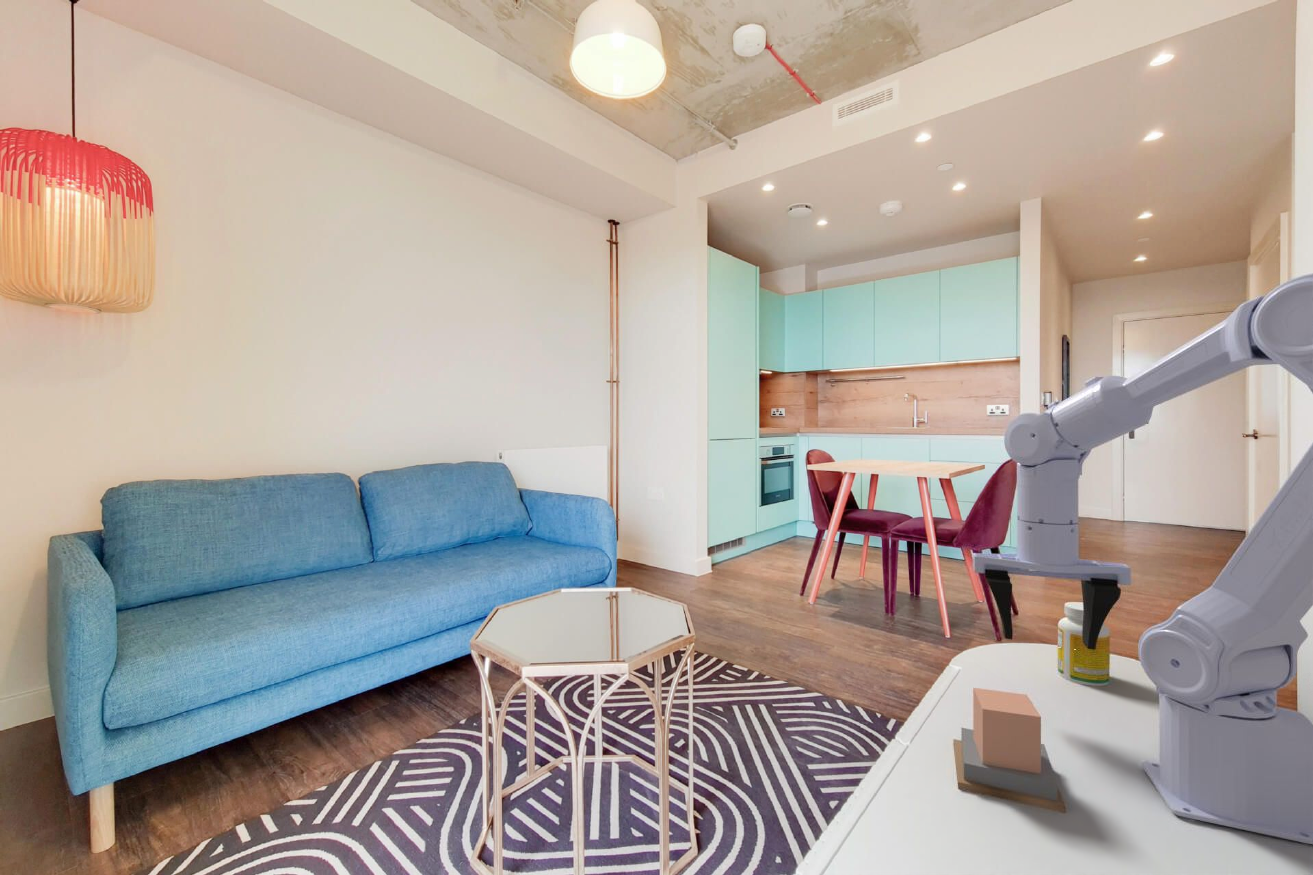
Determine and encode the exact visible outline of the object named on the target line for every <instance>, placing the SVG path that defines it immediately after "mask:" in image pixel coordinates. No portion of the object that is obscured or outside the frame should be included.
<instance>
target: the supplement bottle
mask: <svg viewBox="0 0 1313 875" xmlns="http://www.w3.org/2000/svg"><path fill="white" fill-rule="evenodd" d="M1063 611H1064V612H1063V613H1064V615H1065V617H1063V618H1061V619H1060V620H1059V621H1058V622H1057V674H1058V675H1059V676H1060V677H1061V678H1062V679H1065V680H1067V681H1068V682H1072V683H1075V684H1078V685H1083V686H1084V685H1085V686H1094V687H1100V686H1101V687H1102V686H1106V685H1108V684H1109V683H1110V672H1111V671H1110V669H1111V668H1110V667H1111V666H1110V663H1111V662H1110V660H1111V656H1110V655H1111V653H1110V652H1111V648H1110V647H1111V643H1110V642H1111V640H1110V638H1111V635H1110V634H1111V633H1110V629H1109V628H1108V626H1106V624H1105V623H1103V625H1102V627H1101V630H1100V633H1099V636H1098V639H1097V643H1096V649H1095V650H1092V649H1087V647H1086V646H1085V645H1084V644H1083V637H1082V629H1083V612H1084V610H1083V601H1082V602H1081V601H1068V602H1064V610H1063ZM1058 647H1061V648H1058ZM1074 649H1076V650H1074Z"/></svg>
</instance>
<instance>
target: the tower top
mask: <svg viewBox="0 0 1313 875" xmlns="http://www.w3.org/2000/svg"><path fill="white" fill-rule="evenodd" d="M960 728H961V729H960V730H961V732H960V733H961V734H960V736H961V738H960V739H961V743H962V758H963V773H964V780H968V781H972V782H977V783H981V784H985V785H989V786H993V787H998V788H1002V789H1006V790H1010V791H1014V792H1019V793H1023V794H1027V795H1031V796H1035V797H1040V798H1044V799H1048V800H1052V801H1056V802H1057V786H1058V782H1057V779H1056V776H1055V772H1054V770H1053V767H1052V763H1051V761H1050V757H1049V754H1048V752H1047V749H1046V746H1045V744H1044V743H1041V774H1039V773H1033V772H1027V771H1021V770H1015V769H1009V768H1003V767H997V766H991V765H985V764H982V761H981V758H980V755H979V753H978V750H977V747H976V744H975V742H974V739H973V729H970V728H966V727H965V728H964V727H960Z"/></svg>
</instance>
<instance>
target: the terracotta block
mask: <svg viewBox="0 0 1313 875" xmlns="http://www.w3.org/2000/svg"><path fill="white" fill-rule="evenodd" d="M972 692H973V695H972V696H973V697H972V699H973V700H972V701H973V703H972V707H973V708H972V709H973V711H972V712H973V714H972V715H973V716H972V718H973V720H972V721H973V726H972V728H973V729H972V730H973V739H974V742H975V744H976V747H977V750H978V753H979V755H980V758H981V761H982V764H985V765H991V766H997V767H1003V768H1009V769H1015V770H1021V771H1027V772H1033V773H1039V774H1041V744H1042V717H1041V715H1040V713H1039V712H1038V709H1036V707H1035V706H1034V703H1032V701H1031V699H1030V697H1029V696H1028V694H1024V693H1017V692H1010V691H1001V690H994V689H987V688H979V687H978V688H977V687H973V690H972Z"/></svg>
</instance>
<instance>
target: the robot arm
mask: <svg viewBox="0 0 1313 875" xmlns="http://www.w3.org/2000/svg"><path fill="white" fill-rule="evenodd" d="M1263 365H1264V366H1265V365H1266V366H1267V365H1279V366H1280V367H1282V368H1283V369H1284V370H1286V371H1287V372H1288V373H1290V374H1291V375H1292V376H1294V377H1295V378H1297V379H1298V380H1300V381H1301V383H1303V384H1305V385H1306V386H1307V387H1308V389H1309V390H1310V392H1311V393H1312V394H1313V273H1308V274H1304V275H1300V276H1298V277H1294V278H1292V279H1289V280H1287V281H1285V282H1283V283H1281V284H1280V285H1278V286H1276V287H1274V289H1272V290H1271V291H1270V292H1268V293H1267V294H1266V295H1260V296H1257V297H1254V298H1252V299H1250V300H1247V301H1245V302H1243V303H1241V304H1240V305H1239V306H1237V308H1236V309H1235V310H1234V311H1233V312H1232V313H1231V314H1229V316H1227V317H1226V318H1225V319H1224V320H1222V321H1221V322H1219V323H1218V324H1216V325H1214V326H1213V327H1211V328H1209V329H1208V330H1206V331H1205V332H1203V333H1201V334H1199V335H1198V336H1195V338H1193V339H1191V340H1190V341H1188V342H1186V343H1185V344H1183V345H1181V346H1180V347H1177V349H1175V350H1173V351H1171V352H1170V353H1168V354H1167V355H1165V356H1164V357H1161V358H1160V359H1158V360H1156V361H1155V362H1153V363H1152V364H1150V365H1149V366H1147V367H1145V368H1143V369H1141V370H1140V371H1138V372H1137V373H1135V374H1134V375H1132V376H1130V377H1129V378H1127V377H1123V376H1119V375H1108V376H1094V377H1091V378H1090V379H1088V380H1086V381H1085V382H1084V385H1085V388H1083V389H1081V390H1080V391H1078V392H1076V393H1075V394H1073V395H1071V396H1069V397H1067V398H1066V399H1064V400H1062V401H1052V402H1051V403H1049V404H1048V405H1047V409H1046V410H1045V411H1044V412H1042V413H1040V414H1039V413H1035V412H1023V413H1020V414H1018V415H1017V417H1015V418H1014V419H1013V420H1011V421H1010V422H1009V424H1008V425H1007V427H1006V430H1005V433H1004V437H1003V439H1004V441H1003V442H1004V447H1005V451H1006V453H1007V455H1008V456H1009V458H1010V459H1011V460H1013V461H1014V462H1015V463H1016V522H1017V523H1016V539H1017V540H1016V542H1017V543H1016V553H982V552H981V553H978V552H973V553H972V569H973V572H974V573H979V574H983V576H984V578H985V580H986V583H987V584H988V586H989V589H990V591H991V593H992V595H993V598H994V601H995V604H996V607H997V610H998V613H999V617H1000V622H1001V627H1002V634H1003V637H1004V639H1007V640H1013V634H1014V633H1013V632H1014V630H1013V620H1012V596H1013V595H1012V594H1013V593H1012V592H1013V584H1012V582H1011V576H1010V575H1016V576H1030V577H1042V578H1052V579H1054V578H1055V579H1064V580H1065V579H1066V580H1079V581H1080V583H1081V584H1080V585H1081V593H1082V603H1083V610H1084V612H1083V629H1082V637H1083V644H1084V645H1085V646H1086V647H1087V649H1092V650H1095V649H1096V643H1097V639H1098V636H1099V633H1100V630H1101V627H1102V625H1103V624H1105V620H1106V619H1107V617H1108V615H1109V613H1110V612H1111V610H1112V609H1113V607H1114V606H1115V605H1116V603H1117V602H1118V601H1119V599H1120V598H1121V594H1122V588H1121V587H1119V586H1118V585H1121V586H1131V585H1132V584H1131V583H1132V581H1131V580H1132V573H1131V572H1132V570H1131V569H1132V568H1131V567H1130V566H1128V565H1127V564H1125V563H1120V562H1119V563H1118V562H1117V563H1116V562H1106V561H1099V560H1092V559H1091V560H1090V559H1083V558H1082V559H1081V558H1079V553H1080V552H1079V550H1080V547H1079V546H1080V545H1079V540H1080V538H1079V537H1080V536H1079V479H1080V476H1083V464H1084V462H1085V460H1086V459H1087V458H1088V457H1089V455H1090V453H1091V451H1092V450H1093V449H1095V448H1097V447H1099V446H1102V445H1104V444H1106V443H1108V442H1110V441H1112V440H1115V439H1117V438H1120V437H1121V436H1124V435H1126V434H1128V433H1130V432H1133V431H1136V430H1137V429H1139V428H1142V427H1144V426H1146V425H1147V424H1149V422H1150V421H1151V419H1152V416H1153V411H1154V408H1155V407H1156V406H1158V405H1161V404H1163V403H1165V402H1168V401H1171V400H1173V399H1174V398H1178V397H1180V396H1182V395H1185V394H1187V393H1189V392H1192V391H1194V390H1196V389H1199V388H1202V387H1203V386H1205V385H1209V384H1211V383H1213V382H1215V381H1217V380H1221V379H1223V378H1225V377H1227V376H1230V375H1232V374H1234V373H1237V372H1239V371H1242V370H1243V369H1246V368H1249V367H1253V366H1263ZM1312 607H1313V442H1312V443H1311V444H1310V446H1309V447H1308V448H1307V450H1306V451H1305V453H1304V454H1303V456H1302V457H1301V458H1300V459H1299V461H1298V463H1297V464H1296V466H1295V467H1294V469H1293V470H1292V471H1291V472H1290V474H1289V476H1287V478H1286V480H1285V481H1284V482H1283V484H1282V485H1281V487H1280V488H1279V490H1278V491H1277V493H1276V494H1275V495H1274V497H1273V498H1272V499H1271V501H1270V502H1269V504H1268V505H1267V507H1266V508H1265V509H1264V511H1263V512H1262V513H1261V515H1260V516H1259V518H1258V519H1257V521H1256V522H1255V523H1254V525H1253V527H1251V529H1250V530H1249V531H1248V534H1247V535H1246V536H1245V538H1244V539H1243V540H1242V542H1241V543H1240V545H1239V546H1238V548H1237V549H1236V550H1235V552H1234V553H1233V555H1232V556H1231V558H1229V560H1228V562H1227V563H1226V565H1225V566H1224V568H1223V569H1222V570H1221V571H1220V573H1219V575H1217V577H1216V579H1215V580H1214V582H1213V583H1212V584H1211V586H1210V587H1208V588H1207V589H1205V590H1203V591H1202V592H1201V593H1199V594H1197V595H1195V596H1194V597H1192V598H1190V599H1189V600H1187V601H1185V602H1184V603H1182V604H1181V605H1179V606H1178V607H1177V608H1176V609H1175V610H1174V611H1173V613H1172V614H1171V616H1170V617H1169V618H1168V619H1167V620H1165V621H1163V622H1160V623H1158V624H1155V625H1152V626H1150V627H1149V628H1147V629H1146V630H1145V631H1143V633H1142V634H1141V636H1140V638H1139V641H1138V644H1137V645H1138V646H1137V654H1138V659H1139V662H1140V665H1141V667H1142V669H1143V671H1144V673H1145V674H1146V676H1147V677H1148V679H1149V680H1150V681H1151V682H1152V683H1153V684H1154V685H1155V693H1157V694H1159V696H1158V697H1159V698H1158V700H1159V701H1158V702H1159V703H1158V704H1159V708H1158V709H1159V713H1158V715H1159V722H1158V723H1159V726H1158V728H1159V763H1157V762H1156V763H1155V762H1150V761H1142V762H1141V768H1142V769H1143V770H1144V772H1145V773H1146V774H1147V776H1148V778H1149V780H1150V781H1151V782H1152V783H1153V786H1155V789H1156V790H1157V791H1158V793H1159V794H1160V796H1161V798H1162V799H1163V800H1164V802H1165V803H1166V804H1167V806H1168V808H1169V809H1170V811H1171V812H1172V813H1173V814H1175V815H1176V816H1179V817H1182V818H1186V819H1187V818H1188V819H1192V820H1196V821H1201V822H1205V823H1206V822H1207V823H1211V824H1215V825H1220V826H1225V827H1229V828H1235V829H1237V830H1244V831H1247V832H1253V833H1257V834H1262V835H1266V836H1271V837H1275V838H1280V839H1285V840H1289V841H1293V842H1298V843H1303V844H1309V845H1312V846H1313V723H1312V722H1311V720H1310V719H1309V718H1308V717H1307V716H1306V715H1305V714H1303V713H1301V712H1300V711H1298V710H1295V709H1292V708H1291V709H1290V708H1285V707H1281V706H1277V705H1278V690H1280V689H1283V688H1285V687H1287V686H1288V685H1290V684H1291V683H1292V681H1293V680H1294V679H1295V677H1296V675H1297V671H1298V652H1299V649H1300V647H1301V646H1302V644H1303V643H1304V642H1305V641H1306V639H1308V637H1309V635H1308V631H1307V630H1306V629H1305V627H1304V626H1303V625H1302V622H1301V620H1303V618H1304V616H1306V615H1307V613H1308V612H1309V610H1310V609H1312Z"/></svg>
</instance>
